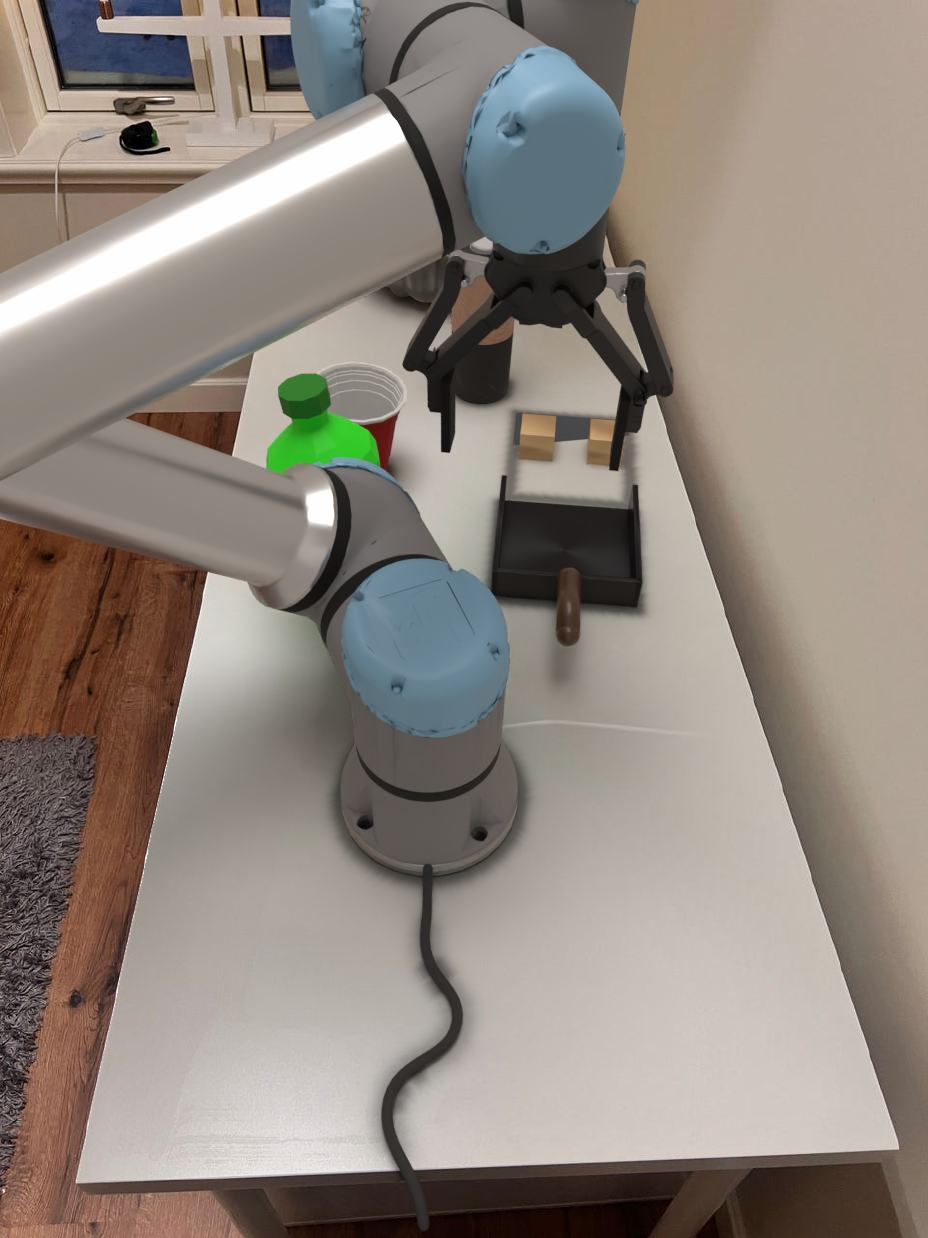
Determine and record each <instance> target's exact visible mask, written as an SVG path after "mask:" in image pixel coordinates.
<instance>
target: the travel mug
mask: <svg viewBox="0 0 928 1238" xmlns="http://www.w3.org/2000/svg"><path fill="white" fill-rule="evenodd" d="M466 248H467V250H468V253H469V254H474V255H479V256H484V257H489V255H490V254H491V252H492V248H493V242H492V241H490V240H489V239H487V238H486V237H484V238H482V239H480V240H478V241H476V242H474V243H472V244H470V245H468V246H466ZM492 292H493V291H492V289H491V288H490V286H489V285H488V283H487V282H486V280H485V277H483V276H480V277H477V278H476V279H475V280H474V282H473V284H472V285H471V286H470V287H467V288H462V287H461V289H460V293H459V296H458V298H457V300H456V302H455V304H454V306H453V308H452V309H451V334H453V333H454V332H455V331H456V330H457V329H458V328H459V327H460V326H461V325H462V324H463V323H464V322H465V321H466V320H467V319H468V318H469V317H470V316H471V315H472V314H473V313H474V312H475V311H476V310H478V309H479V308H480V307H481V306H482V305H483V304H484V303H485V302H486V301H487V299H488V297H489V296H490V295H491V294H492ZM514 330H515V319H514V318H512V317H510V318H509V319H508V320H507V321H506V322H505V323H504V324H503V325H501V326H500V327H499V328H498V329H497V330H493V331H492V332H491V333H490V334H489V335H487V336H486V337H485V338H484V339H483V340H482V341H481V342H480V343H479V344H478V345H477V346H476V347H474V348H473V349H472V350H471V351H470V352H469V353H468V354H467V355H466V356H465V357H464V358H463V359H461V360H460V361H459V362H458V363H457V364H456V396H458V397H459V398H460V399H462V400H464V401H466V402H468V403H472V404H491V403H494V402H497V401H499V400H501V399H502V398H504V397H505V395H506V394H507V392H508V389H509V381H510V372H511V364H512V363H511V362H512V352H513V341H514Z"/></svg>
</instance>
